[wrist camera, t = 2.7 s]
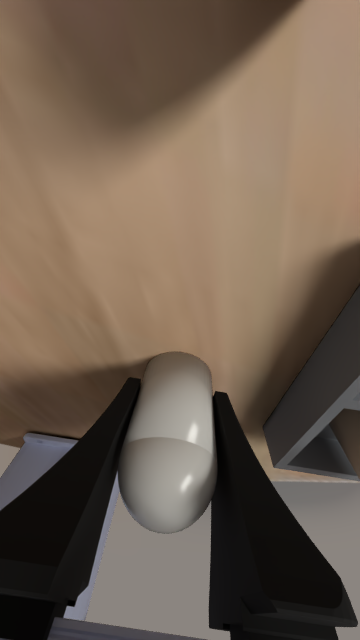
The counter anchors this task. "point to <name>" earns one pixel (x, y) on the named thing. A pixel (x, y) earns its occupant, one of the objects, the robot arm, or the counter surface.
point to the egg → (170, 445)
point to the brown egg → (348, 435)
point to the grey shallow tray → (320, 403)
